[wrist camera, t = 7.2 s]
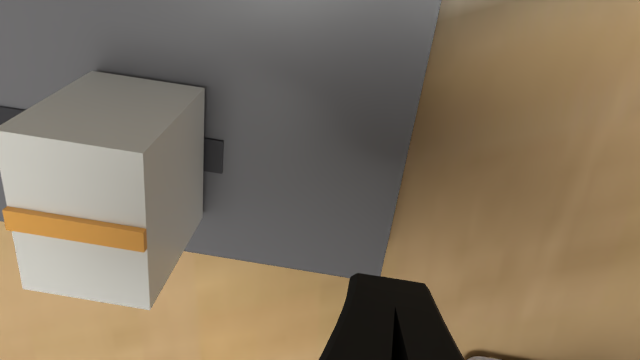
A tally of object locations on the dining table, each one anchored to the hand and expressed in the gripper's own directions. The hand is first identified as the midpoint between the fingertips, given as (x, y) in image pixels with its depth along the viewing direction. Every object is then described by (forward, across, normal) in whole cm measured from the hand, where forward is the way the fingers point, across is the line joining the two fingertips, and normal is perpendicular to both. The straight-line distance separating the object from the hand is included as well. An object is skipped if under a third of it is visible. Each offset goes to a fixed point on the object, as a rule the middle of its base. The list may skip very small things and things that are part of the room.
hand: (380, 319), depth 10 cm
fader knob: (+5, +6, 0) cm, 8 cm away
